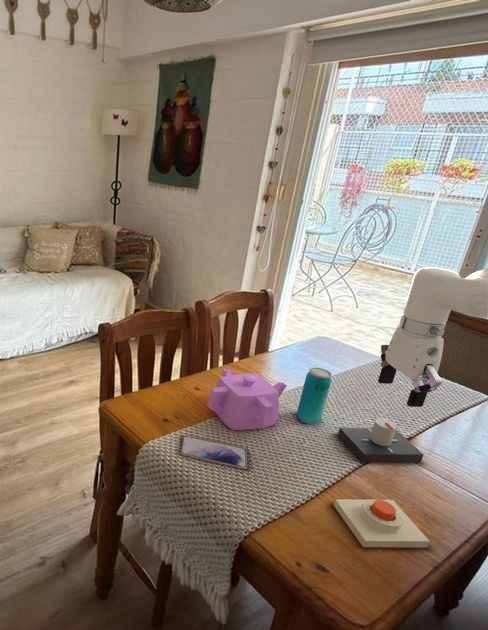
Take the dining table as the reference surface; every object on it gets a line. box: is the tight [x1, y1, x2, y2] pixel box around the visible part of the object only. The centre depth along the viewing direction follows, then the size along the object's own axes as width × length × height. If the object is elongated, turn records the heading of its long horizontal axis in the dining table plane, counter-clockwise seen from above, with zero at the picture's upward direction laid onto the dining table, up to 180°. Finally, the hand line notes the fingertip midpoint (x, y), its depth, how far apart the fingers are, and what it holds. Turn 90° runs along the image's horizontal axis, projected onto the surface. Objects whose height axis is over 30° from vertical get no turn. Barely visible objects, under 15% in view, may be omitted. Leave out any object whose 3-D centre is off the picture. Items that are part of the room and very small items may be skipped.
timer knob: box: [370, 417, 398, 446], centre depth 106 cm, size 4×4×5 cm
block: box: [333, 498, 430, 549], centre depth 86 cm, size 12×10×4 cm
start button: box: [371, 499, 396, 521], centre depth 85 cm, size 4×4×2 cm
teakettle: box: [206, 368, 288, 431], centre depth 118 cm, size 17×17×12 cm
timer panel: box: [337, 427, 425, 464], centre depth 107 cm, size 14×10×3 cm
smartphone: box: [180, 435, 248, 470], centre depth 106 cm, size 7×1×15 cm
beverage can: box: [296, 367, 332, 425], centre depth 116 cm, size 6×6×15 cm
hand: (398, 393), depth 101 cm, fingers open, 9 cm apart
